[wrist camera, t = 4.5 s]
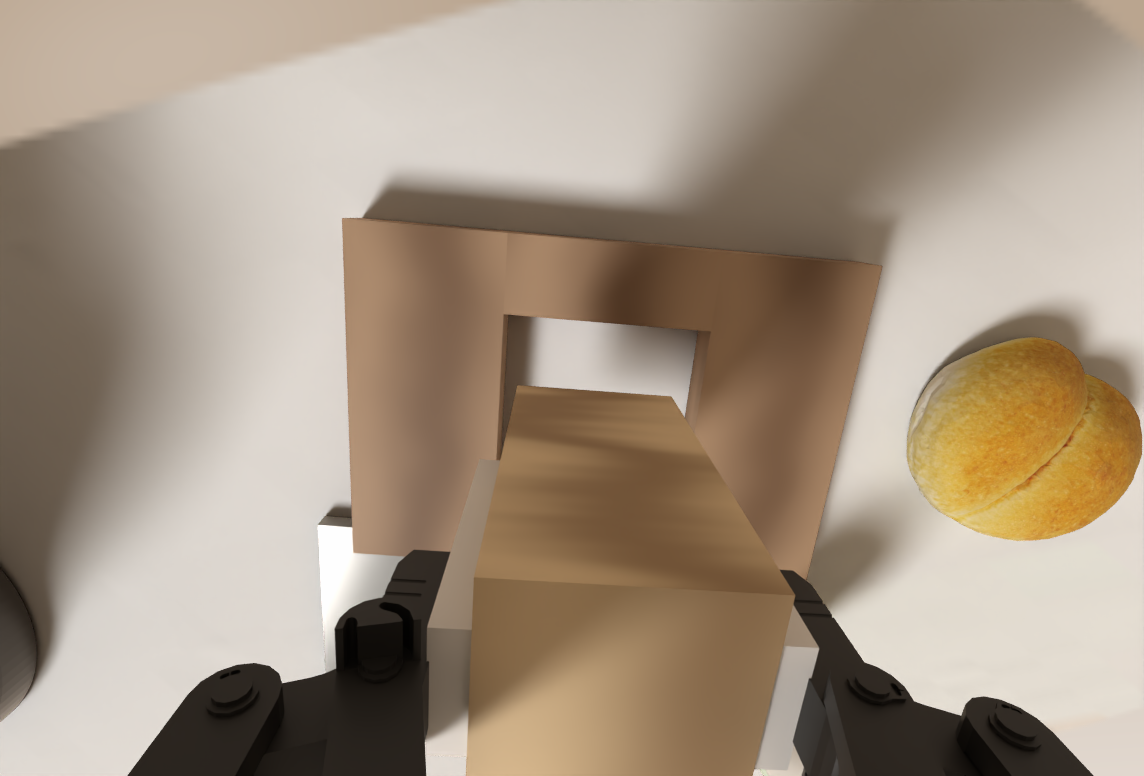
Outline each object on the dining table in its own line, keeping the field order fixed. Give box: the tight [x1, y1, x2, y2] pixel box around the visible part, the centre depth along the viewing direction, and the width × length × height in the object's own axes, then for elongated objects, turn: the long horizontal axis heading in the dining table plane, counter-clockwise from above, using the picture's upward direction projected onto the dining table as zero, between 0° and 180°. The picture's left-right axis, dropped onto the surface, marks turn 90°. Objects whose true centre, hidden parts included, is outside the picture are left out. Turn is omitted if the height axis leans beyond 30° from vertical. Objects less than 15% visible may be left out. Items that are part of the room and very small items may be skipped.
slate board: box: [318, 516, 404, 673], centre depth 28 cm, size 10×10×1 cm
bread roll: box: [907, 337, 1142, 541], centre depth 24 cm, size 8×9×4 cm
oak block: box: [466, 385, 795, 776], centre depth 14 cm, size 5×5×10 cm
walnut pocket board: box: [342, 218, 882, 580], centre depth 24 cm, size 20×14×2 cm
